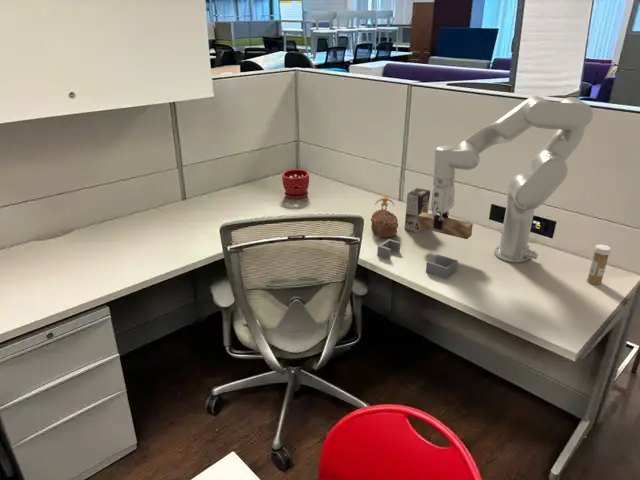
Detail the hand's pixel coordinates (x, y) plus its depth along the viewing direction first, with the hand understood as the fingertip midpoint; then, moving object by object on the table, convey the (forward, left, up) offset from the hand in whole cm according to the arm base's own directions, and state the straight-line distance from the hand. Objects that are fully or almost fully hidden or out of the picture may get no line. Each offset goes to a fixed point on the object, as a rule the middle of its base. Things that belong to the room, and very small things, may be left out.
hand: (440, 226), depth 186 cm
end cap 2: (-9, +14, -10) cm, 20 cm away
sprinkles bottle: (-53, -12, -10) cm, 55 cm away
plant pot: (+82, -10, -10) cm, 83 cm away
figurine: (+32, -12, -10) cm, 36 cm away
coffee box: (+17, -14, -10) cm, 24 cm away
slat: (-2, 0, -2) cm, 2 cm away
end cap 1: (+13, +14, -10) cm, 22 cm away
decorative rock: (+24, 0, -10) cm, 26 cm away
